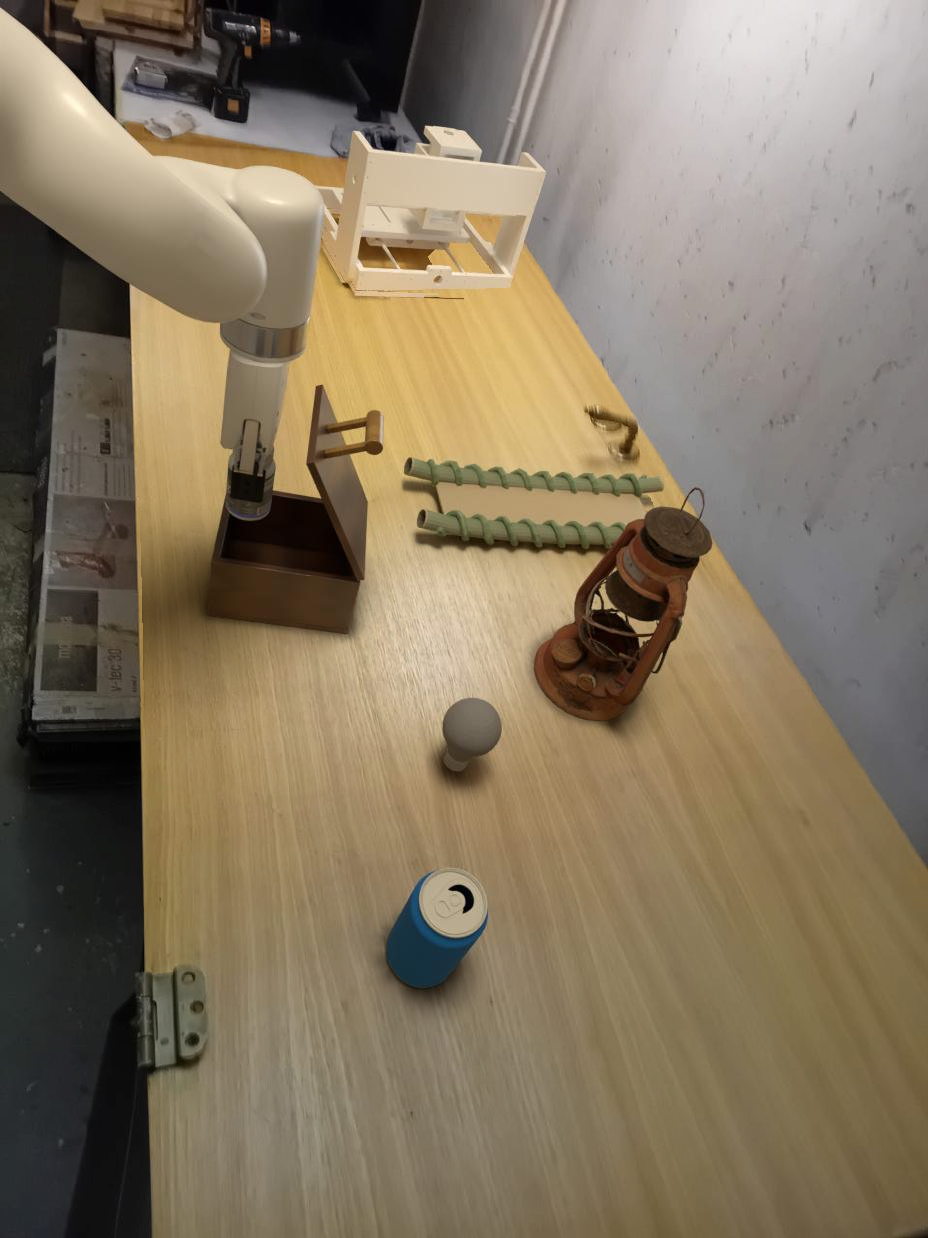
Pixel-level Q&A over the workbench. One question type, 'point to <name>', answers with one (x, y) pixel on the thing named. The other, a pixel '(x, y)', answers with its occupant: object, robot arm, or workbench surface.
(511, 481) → the stretcher
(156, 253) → the robot arm
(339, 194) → the 3d printer
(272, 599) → the chest
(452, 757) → the light bulb
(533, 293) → the workbench surface
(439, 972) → the beverage can
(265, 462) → the pill bottle
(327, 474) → the lid
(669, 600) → the lantern
